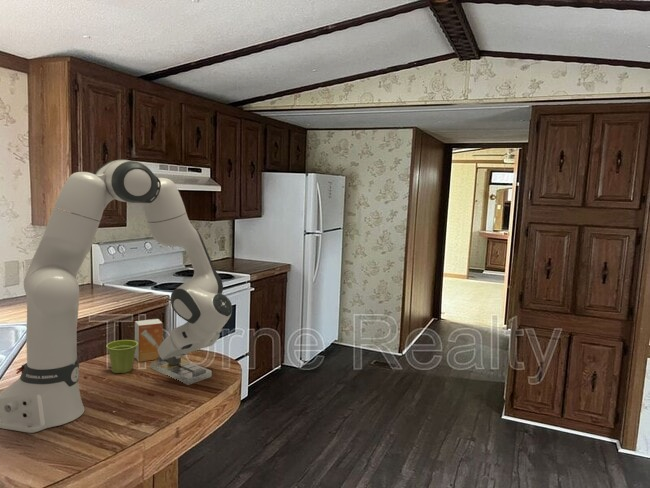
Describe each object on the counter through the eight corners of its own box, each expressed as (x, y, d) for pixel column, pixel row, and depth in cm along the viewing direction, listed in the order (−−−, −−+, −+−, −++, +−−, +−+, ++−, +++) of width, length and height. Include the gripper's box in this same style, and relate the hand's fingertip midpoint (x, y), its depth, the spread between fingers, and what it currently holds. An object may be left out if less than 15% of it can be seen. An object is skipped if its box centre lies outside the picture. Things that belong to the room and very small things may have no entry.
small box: (138, 362, 161) (138, 325, 160) (134, 357, 166) (134, 320, 165) (162, 359, 166) (163, 322, 164) (158, 353, 171) (158, 318, 170)
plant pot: (143, 369, 156) (144, 343, 155) (118, 378, 148) (117, 351, 147) (126, 362, 161) (126, 338, 160) (100, 371, 153) (100, 345, 152)
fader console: (212, 377, 151) (212, 367, 151) (188, 385, 144) (188, 375, 144) (173, 361, 164) (173, 352, 164) (150, 368, 157) (150, 359, 156)
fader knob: (181, 363, 156) (181, 338, 155) (172, 365, 154) (173, 341, 153) (175, 360, 158) (175, 336, 157) (167, 363, 156) (167, 338, 155)
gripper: (220, 318, 157) (200, 340, 163) (166, 331, 140) (147, 355, 147) (229, 334, 154) (209, 356, 161) (175, 349, 138) (155, 372, 145)
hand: (179, 355), depth 154 cm, fingers closed
